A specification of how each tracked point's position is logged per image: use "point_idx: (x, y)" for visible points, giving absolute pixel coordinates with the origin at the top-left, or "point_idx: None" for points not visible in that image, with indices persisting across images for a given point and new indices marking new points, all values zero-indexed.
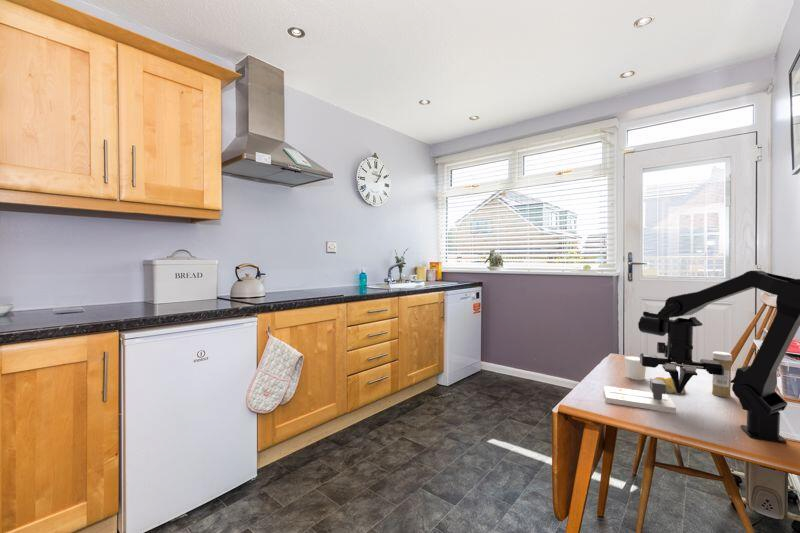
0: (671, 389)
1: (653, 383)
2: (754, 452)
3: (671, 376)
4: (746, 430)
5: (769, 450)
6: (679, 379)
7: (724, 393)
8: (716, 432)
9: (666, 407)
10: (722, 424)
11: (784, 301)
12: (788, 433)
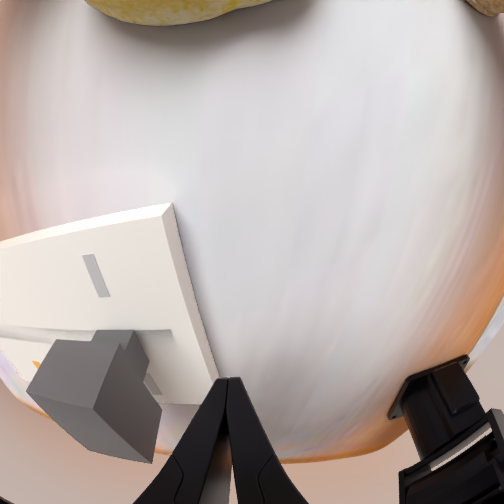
0: (202, 13)
1: (93, 449)
2: (350, 450)
3: (162, 489)
4: (399, 404)
5: (384, 434)
6: (235, 476)
7: (495, 11)
8: (317, 431)
9: (184, 400)
10: (363, 387)
11: None
12: (492, 333)
